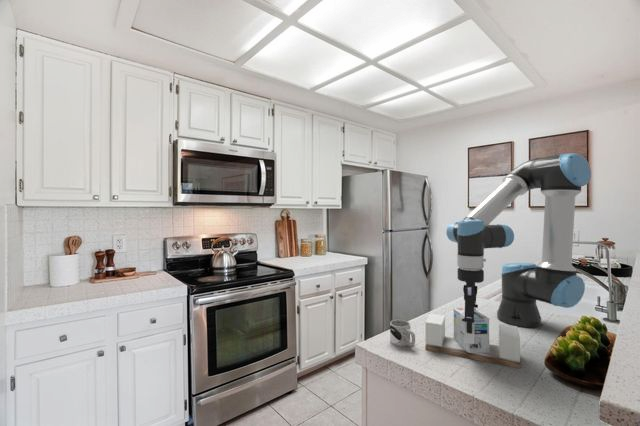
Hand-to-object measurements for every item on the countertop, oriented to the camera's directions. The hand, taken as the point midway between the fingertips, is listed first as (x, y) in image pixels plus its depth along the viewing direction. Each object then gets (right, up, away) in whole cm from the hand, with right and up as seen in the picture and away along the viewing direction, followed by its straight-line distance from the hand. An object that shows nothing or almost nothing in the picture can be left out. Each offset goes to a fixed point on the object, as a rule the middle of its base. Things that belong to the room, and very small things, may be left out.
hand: (470, 334), depth 99 cm
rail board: (0, -5, 0) cm, 5 cm away
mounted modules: (0, -4, 0) cm, 4 cm away
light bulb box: (0, -4, 0) cm, 4 cm away
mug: (-20, -6, +6) cm, 21 cm away
